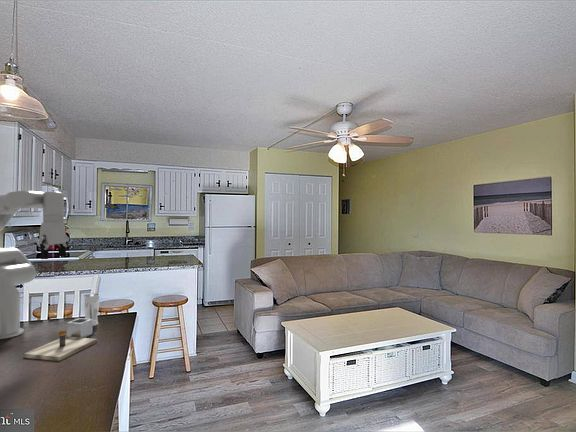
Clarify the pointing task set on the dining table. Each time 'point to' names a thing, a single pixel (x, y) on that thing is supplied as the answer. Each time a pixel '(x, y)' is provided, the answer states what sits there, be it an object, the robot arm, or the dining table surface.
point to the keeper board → (60, 347)
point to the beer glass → (91, 307)
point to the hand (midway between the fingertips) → (53, 257)
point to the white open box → (80, 328)
